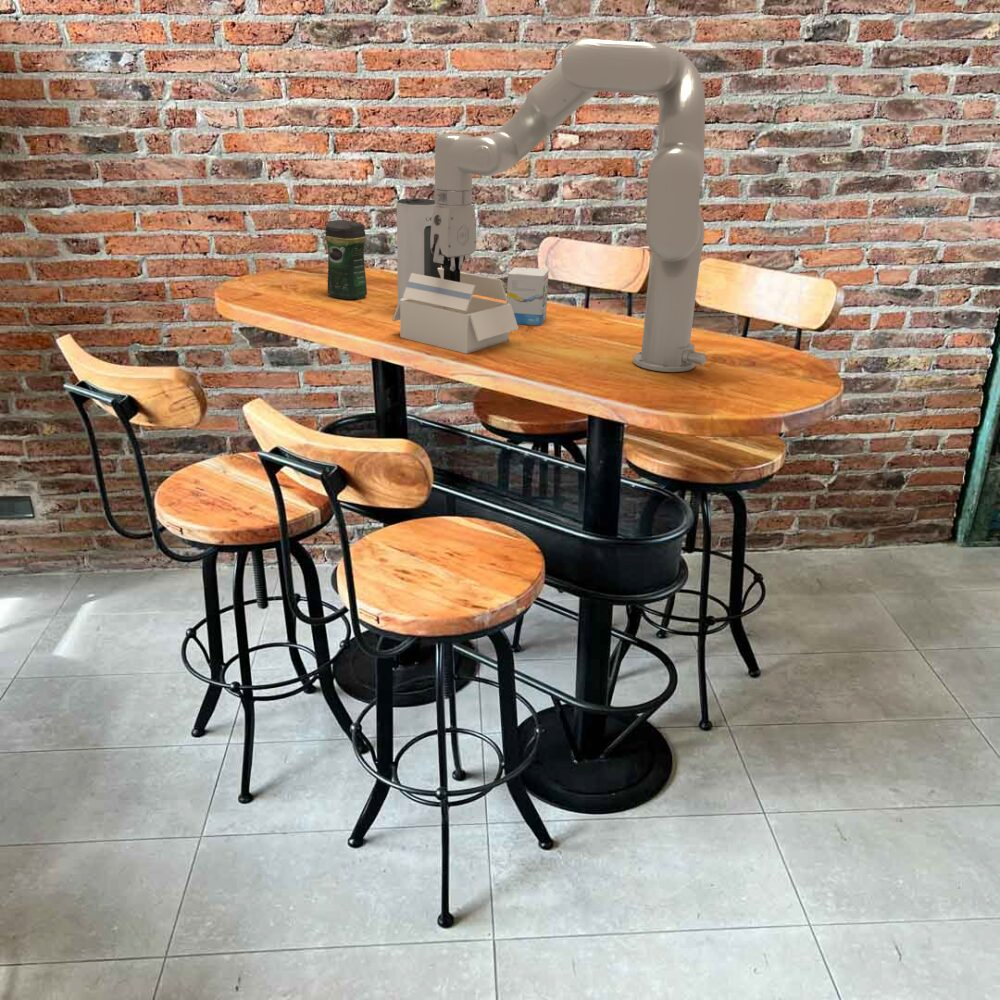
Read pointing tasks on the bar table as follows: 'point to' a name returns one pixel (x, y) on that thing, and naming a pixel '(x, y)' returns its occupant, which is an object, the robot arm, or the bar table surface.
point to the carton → (456, 324)
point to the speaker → (414, 241)
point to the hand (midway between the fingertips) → (451, 288)
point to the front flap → (439, 291)
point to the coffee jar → (346, 259)
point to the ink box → (528, 294)
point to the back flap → (482, 285)
